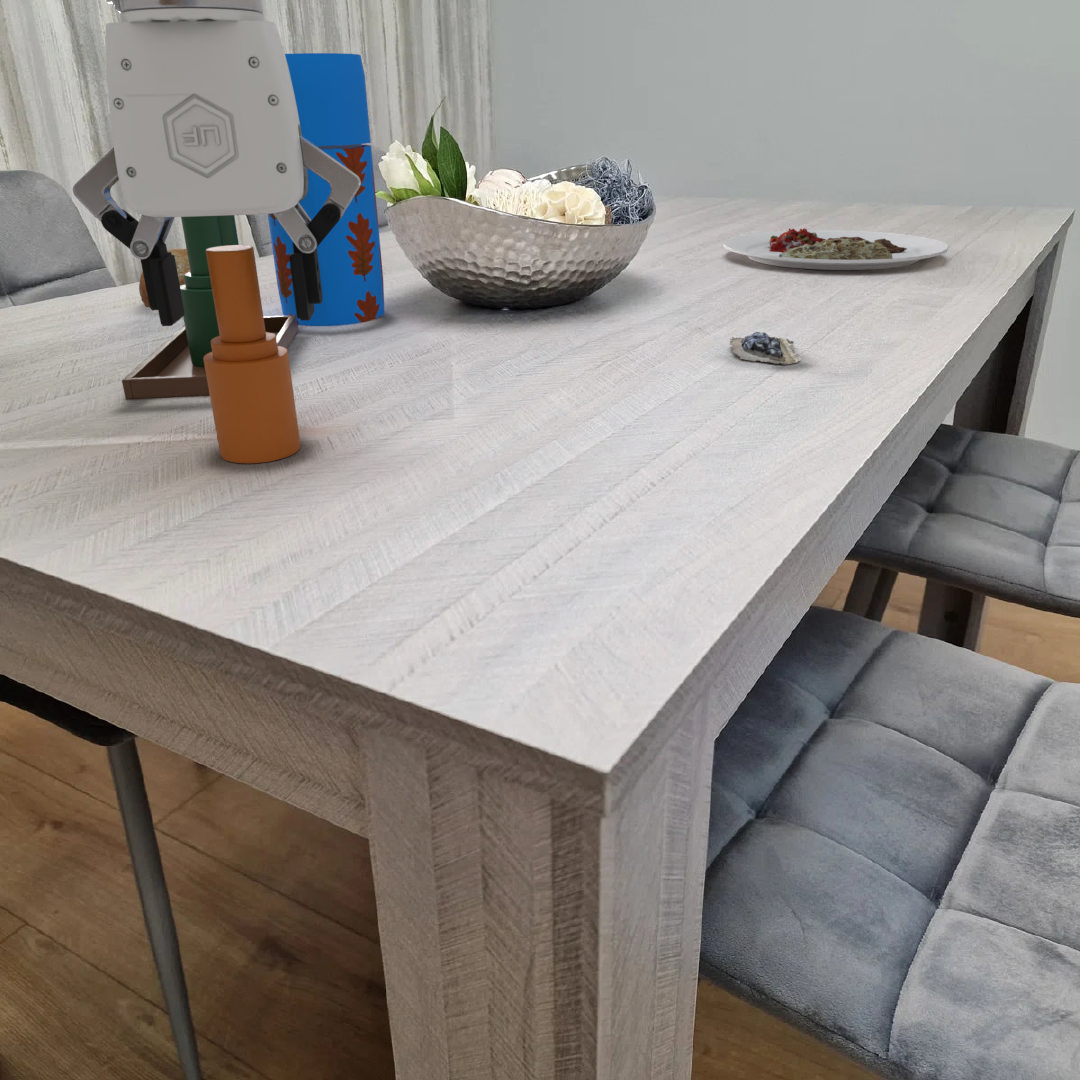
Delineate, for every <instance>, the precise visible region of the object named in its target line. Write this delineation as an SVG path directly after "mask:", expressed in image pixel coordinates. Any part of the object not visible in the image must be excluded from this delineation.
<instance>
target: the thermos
mask: <svg viewBox="0 0 1080 1080" xmlns="http://www.w3.org/2000/svg"><path fill="white" fill-rule="evenodd" d="M285 57H286V60H287V64H288V68H289V73H290V77H291V81H292V86H293V91H294V95H295V100H296V105H297V111H298V116H299V122H300V127H301V133H302V137H304V138H305V139H307V140H308V141H309V142H311V143H312V144H314V145H315V146H317V147H318V148H319V149H321V150H322V151H324V152H325V153H326V154H328V155H329V156H331V157H332V158H334V159H335V160H336V161H338V162H339V163H341V164H342V165H343V166H345V167H346V168H348V169H349V170H351V171H352V172H353V173H355V174H356V175H357V176H358V177H359V178H360V181H361V184H360V187H359V189H358V191H357V192H356V194H355V196H354V197H353V199H352V201H351V202H350V204H349V206H348V207H347V209H346V211H345V212H344V214H343V216H342V217H341V219H340V220H339V221H338V223H337V224H336V225H335V226H334V227H333V229H332V230H331V231H330V232H329V233H328V235H327V236H326V237H325V238H324V240H323V241H322V242H321V243H320V244H319V246H318V247H317V254H318V262H319V271H320V279H321V288H322V303H321V304H314V313H313V315H312V317H311V319H310V320H304V321H301V319H298V318H297V324H298V326H306V327H334V326H335V327H336V326H347V325H355V324H361V323H366V322H369V321H374V320H377V319H379V318H381V317H383V316H384V315H385V287H384V272H383V262H382V252H381V251H382V250H381V249H382V248H381V239H380V228H379V218H378V206H377V196H376V183H375V173H374V161H373V151H372V145H371V142H372V138H371V128H370V119H369V108H368V95H367V86H366V75H365V74H366V73H365V70H364V64H363V60H362V55H361V54H357V53H343V52H342V53H341V52H340V53H336V52H335V53H334V52H332V53H331V52H312V53H310V52H305V53H304V52H302V53H300V52H299V53H295V52H294V53H285ZM307 173H308V192H307V195H306V197H305V198H304V199H303V200H301V201H300V202H299V204H300V205H301V206H302V208H303V209H304V211H305V212H306V213H307V215H308V216H309V218H310V219H311V220H312V219H313V218H314V217H315V216H316V214H317V213H318V212H319V211H320V209H321V208H322V207H323V205H324V204H325V202H326V200H327V198H328V197H329V195H330V193H331V186H330V184H329V183H328V182H327V181H325V180H324V179H323V178H321V177H320V176H318V175H317V174H315V173H314V172H313V171H311V170H310V169H308V168H307ZM267 219H268V226H269V234H270V241H271V248H272V255H273V256H272V257H273V262H274V263H273V264H274V270H275V278H276V284H277V290H278V296H279V301H280V307H281V310H282V316H291V315H296V317H297V313H296V306H295V298H294V290H293V283H292V275H291V267H290V255H291V254H292V253H293V252H294V251H293V241H292V239H291V238H290V237H289V235H288V234H287V232H286V231H285V230H284V228H283V227H282V226H281V224H280V223H279V221H278V220H277V219H276V217H275V216H274V214H273V213H270V214H267Z"/></svg>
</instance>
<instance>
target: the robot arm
mask: <svg viewBox="0 0 1080 1080" xmlns="http://www.w3.org/2000/svg"><path fill="white" fill-rule="evenodd" d="M105 2H106V3H108V4H112V6H114V9H115V11H116V12H119V16H120V20H121V22H120V21H119V22H108V23H105V34H104V35H105V41H104V42H105V43H104V44H105V47H104V48H105V71H106V82H107V83H106V84H107V97H108V106H109V117H110V126H111V134H112V135H111V136H112V144H113V147H112V148H111V149H110V150H109V151H108V152H107V153H106V154H105V155H104V156H103V157H102V158H101V159H99V161H97V162H96V163H95V164H94V165H93V166H92V167H91V168H90V169H89V170H88V171H87V172H86V173H85V174H84V175H83V176H82V177H81V178H80V179H79V180H78V181H76V183H74V185H73V187H72V192H73V195H74V197H75V199H77V200H78V201H79V202H80V203H81V205H83V206H84V208H86V210H87V211H89V213H91V214H92V216H93V217H94V218H95V219H97V220H98V221H99V222H100V223H101V225H102V227H103V228H104V230H106V231H107V232H108V233H109V234H110V235H112V236H113V237H114V238H116V240H118V242H120V243H122V244H123V245H124V246H126V247H127V248H128V249H129V250H130V252H131V254H132V256H133V257H135V258H136V259H138V260H140V264H141V271H142V272H143V275H144V280H145V285H146V291H147V296H148V301H149V305H150V307H149V308H150V310H151V311H158V316H159V323H160V325H161V327H172V326H174V325H175V324H176V323H177V322H179V321H180V320H181V319H183V316H184V314H185V312H184V306H183V300H182V295H181V289H180V283H179V278H178V272H177V267H176V261H175V257H174V255H172V254H171V252H167V250H168V248H167V243H166V240H167V238H168V236H169V232H170V231H171V227H172V225H173V223H174V221H175V218H181V217H192V216H224V215H234V216H248V215H249V216H250V215H251V216H252V215H268V214H270V213H273V214H274V216H275V217H276V219H277V220H278V221H279V223H280V224H281V226H282V227H283V228H284V230H285V231H286V232H287V234H288V235H289V237H290V238H291V239H292V241H293V251H294V252H293V253H292V254H291V255H290V267H291V275H292V283H293V290H294V298H295V306H296V313H297V318H298V319H301V321H304V320H310V319H311V317H312V315H313V313H314V304H321V303H322V288H321V279H320V271H319V262H318V254H317V247H318V246H319V244H320V243H321V242H322V241H323V240H324V238H325V237H326V236H327V235H328V233H329V232H330V231H331V230H332V229H333V227H334V226H335V225H336V224H337V223H338V221H339V220H340V219H341V217H342V216H343V214H344V212H345V211H346V209H347V207H348V206H349V204H350V202H351V201H352V199H353V197H354V196H355V194H356V192H357V191H358V189H359V187H360V184H361V181H360V178H359V177H358V176H357V175H356V174H355V173H353V172H352V171H351V170H349V169H348V168H346V167H345V166H343V165H342V164H341V163H339V162H338V161H336V160H335V159H334V158H332V157H331V156H329V155H328V154H326V153H325V152H324V151H322V150H321V149H319V148H318V147H317V146H315V145H314V144H312V143H311V142H309V141H308V140H307V139H305V138H304V137H302V133H301V127H300V122H299V116H298V111H297V105H296V100H295V95H294V91H293V86H292V81H291V77H290V73H289V68H288V64H287V60H286V57H285V54H286V52H285V50H284V47H283V43H282V40H281V36H280V33H279V30H278V27H277V25H276V22H274V21H269V20H264V19H265V18H264V10H263V3H262V0H105ZM307 168H308V169H310V170H311V171H313V172H314V173H315V174H317V175H318V176H320V177H321V178H323V179H324V180H325V181H327V182H328V183H329V184H330V186H331V193H330V195H329V197H328V198H327V200H326V202H325V204H324V205H323V207H322V208H321V209H320V211H319V212H318V213H317V214H316V216H315V217H314V218H313V219H312V220H311V219H310V218H309V216H308V215H307V213H306V212H305V211H304V209H303V208H302V206H301V205H300V204H299V202H300V201H301V200H303V199H304V198H305V197H306V195H307V192H308V173H307ZM117 182H118V183H119V186H120V192H121V196H122V197H123V198H122V199H123V200H124V203H125V205H126V206H127V207H128V208H129V209H130V210H131V211H133V212H134V213H137V214H139V215H141V216H140V218H139V220H137V219H136V218H135V217H133V215H131V214H130V213H129V212H128V211H126V210H125V209H122V208H121V206H119V204H118V203H117V201H115V199H114V198H113V196H112V194H111V189H112V187H113V186H114V185H115V184H116V183H117Z"/></svg>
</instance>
